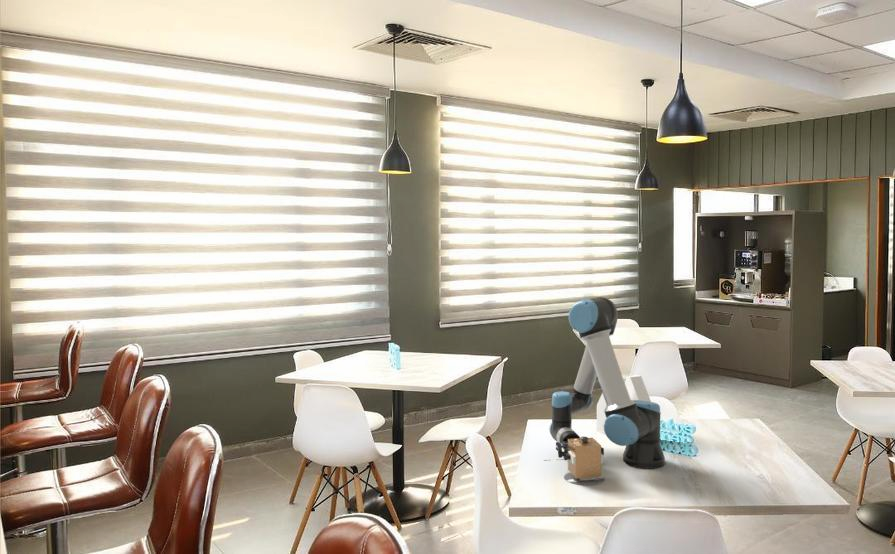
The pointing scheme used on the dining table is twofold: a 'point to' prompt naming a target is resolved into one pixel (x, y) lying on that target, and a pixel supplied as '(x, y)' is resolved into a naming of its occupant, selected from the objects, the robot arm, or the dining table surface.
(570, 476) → the plate
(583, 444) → the wooden cube with knob
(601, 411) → the milk carton
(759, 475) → the dining table surface
